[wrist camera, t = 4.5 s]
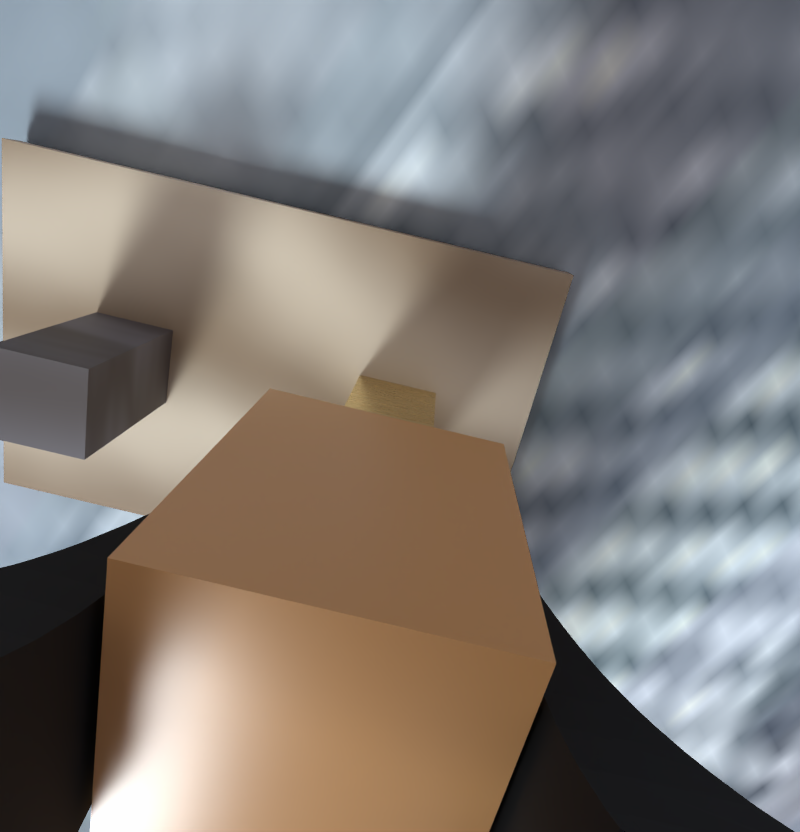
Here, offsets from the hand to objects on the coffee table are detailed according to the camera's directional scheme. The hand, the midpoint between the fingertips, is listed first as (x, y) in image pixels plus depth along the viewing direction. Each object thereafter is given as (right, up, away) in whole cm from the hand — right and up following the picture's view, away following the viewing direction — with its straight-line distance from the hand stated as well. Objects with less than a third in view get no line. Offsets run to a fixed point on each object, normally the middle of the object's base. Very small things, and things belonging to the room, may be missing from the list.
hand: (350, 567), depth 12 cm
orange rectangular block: (0, +1, +2) cm, 2 cm away
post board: (-4, +4, +9) cm, 11 cm away
